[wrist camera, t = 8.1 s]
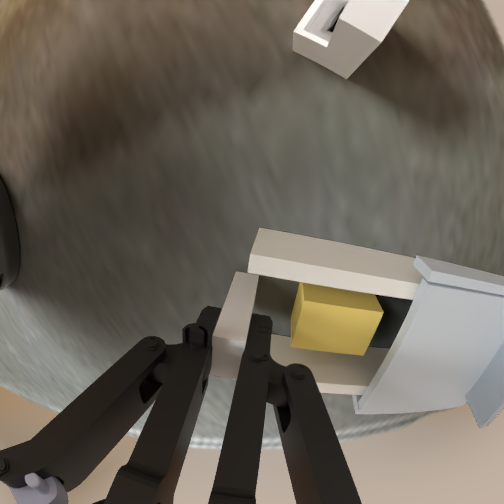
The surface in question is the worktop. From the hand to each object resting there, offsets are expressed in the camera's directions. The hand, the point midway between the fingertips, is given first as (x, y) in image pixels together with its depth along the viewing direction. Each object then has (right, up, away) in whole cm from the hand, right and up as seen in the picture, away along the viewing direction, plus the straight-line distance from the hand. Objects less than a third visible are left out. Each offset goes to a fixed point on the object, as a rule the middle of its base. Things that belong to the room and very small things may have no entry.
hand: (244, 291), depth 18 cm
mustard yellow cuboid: (+6, -1, +1) cm, 6 cm away
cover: (+14, -4, -3) cm, 15 cm away
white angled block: (+6, +16, -6) cm, 18 cm away
